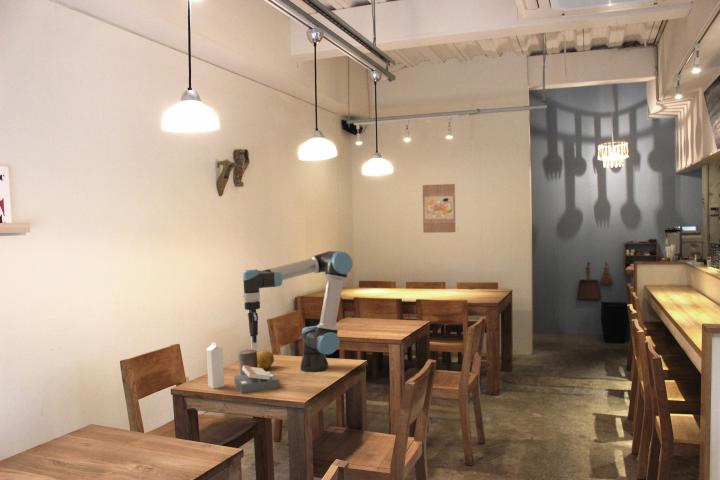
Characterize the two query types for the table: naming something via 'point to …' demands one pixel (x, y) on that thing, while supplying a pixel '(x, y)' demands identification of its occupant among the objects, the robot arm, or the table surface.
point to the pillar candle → (247, 359)
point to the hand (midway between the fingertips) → (254, 348)
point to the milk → (215, 366)
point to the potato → (264, 359)
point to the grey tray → (255, 383)
